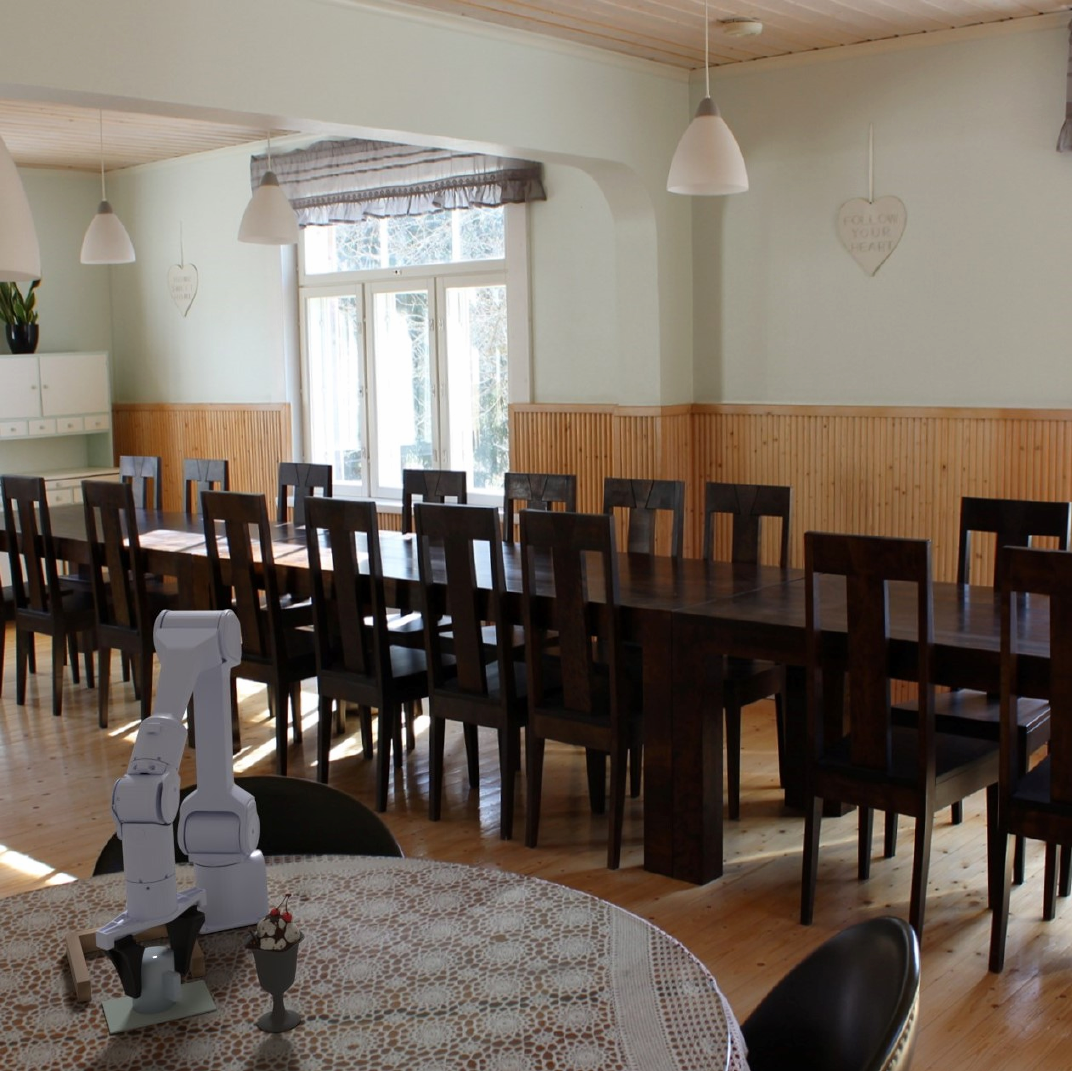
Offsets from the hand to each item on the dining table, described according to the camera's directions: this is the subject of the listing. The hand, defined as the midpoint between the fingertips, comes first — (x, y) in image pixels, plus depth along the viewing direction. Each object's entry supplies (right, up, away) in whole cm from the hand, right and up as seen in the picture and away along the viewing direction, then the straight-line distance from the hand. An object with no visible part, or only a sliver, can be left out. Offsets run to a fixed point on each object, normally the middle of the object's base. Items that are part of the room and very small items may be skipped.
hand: (157, 983), depth 154 cm
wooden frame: (-6, -1, +12) cm, 13 cm away
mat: (0, -3, 0) cm, 3 cm away
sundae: (+15, -3, -4) cm, 16 cm away
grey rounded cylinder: (-1, -3, +1) cm, 3 cm away
